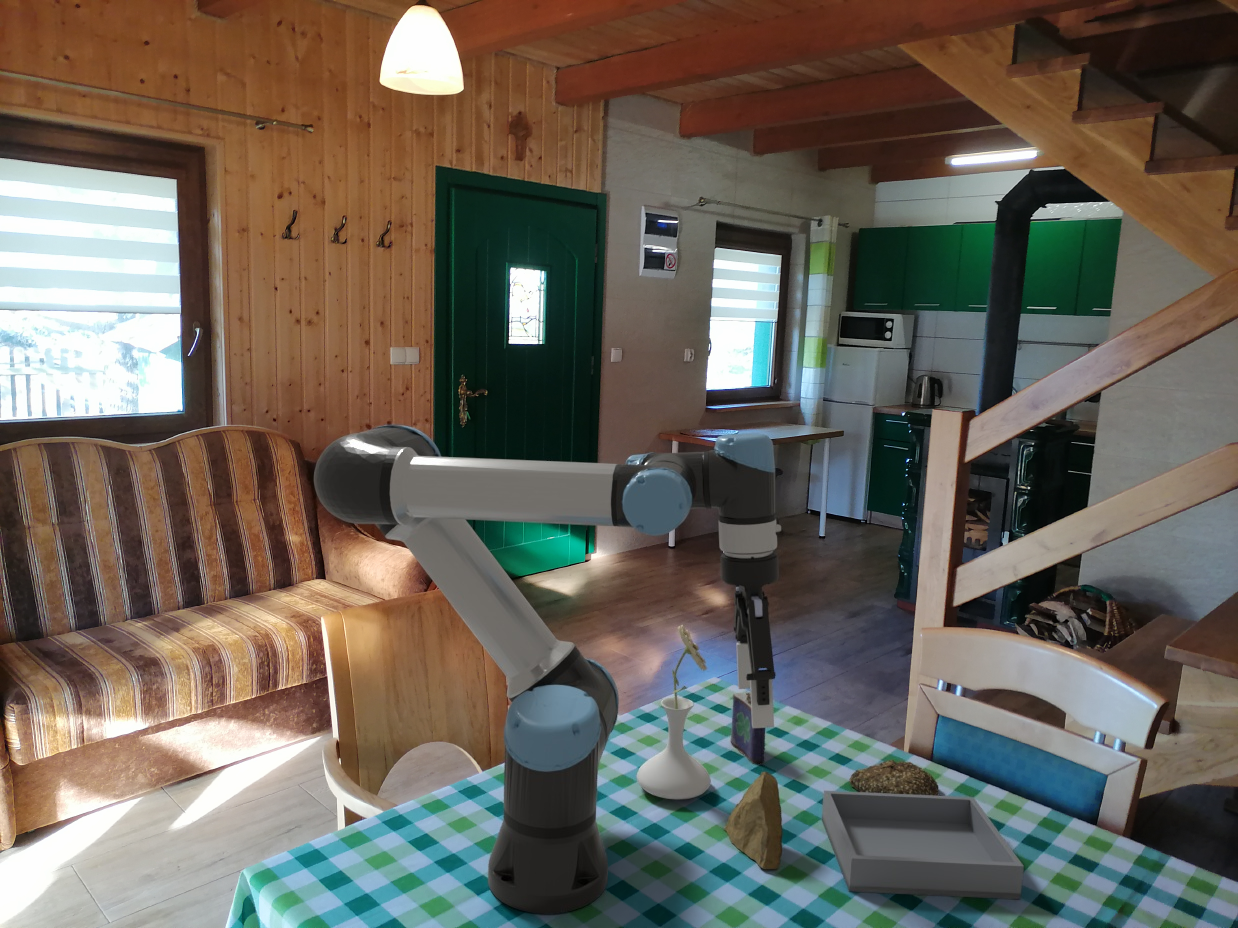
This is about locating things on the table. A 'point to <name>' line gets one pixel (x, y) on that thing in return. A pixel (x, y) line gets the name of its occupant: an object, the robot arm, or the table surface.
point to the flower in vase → (676, 746)
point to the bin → (919, 845)
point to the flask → (746, 730)
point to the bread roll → (894, 779)
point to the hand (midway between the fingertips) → (755, 706)
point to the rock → (758, 822)
